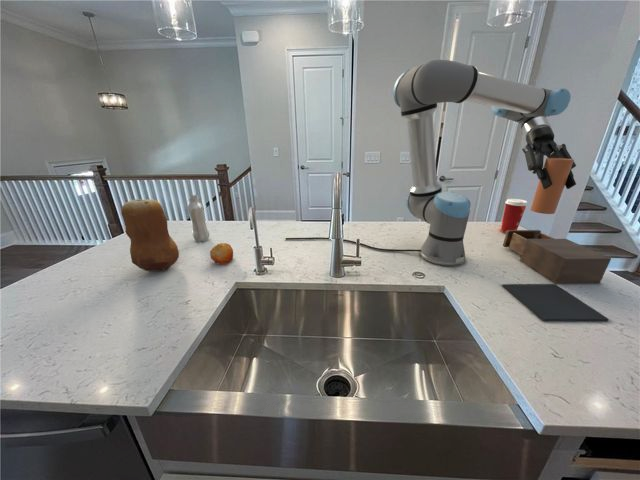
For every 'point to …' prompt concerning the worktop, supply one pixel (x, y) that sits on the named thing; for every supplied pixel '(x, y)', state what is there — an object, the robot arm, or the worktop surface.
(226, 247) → the fruit
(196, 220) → the plastic bottle
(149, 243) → the butternut squash
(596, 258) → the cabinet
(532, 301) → the mat
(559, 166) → the orange tall cylinder
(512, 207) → the coffee cup
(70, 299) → the worktop surface
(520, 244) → the drawer
